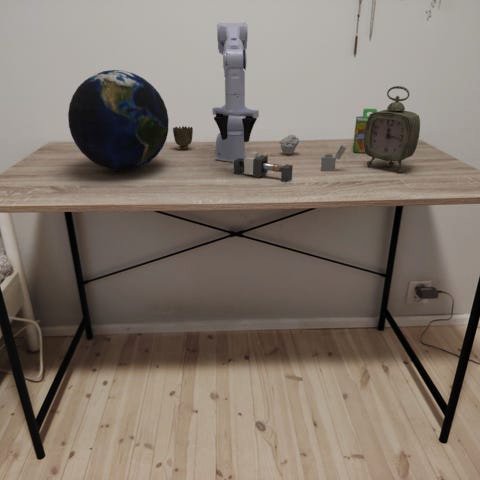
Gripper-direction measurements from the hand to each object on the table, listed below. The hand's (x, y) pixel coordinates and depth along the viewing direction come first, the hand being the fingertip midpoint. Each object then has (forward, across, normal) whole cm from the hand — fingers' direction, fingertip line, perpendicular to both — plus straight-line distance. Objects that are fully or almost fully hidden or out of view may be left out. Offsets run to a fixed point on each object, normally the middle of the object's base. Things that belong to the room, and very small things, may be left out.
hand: (235, 140), depth 134 cm
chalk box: (+10, +30, +46) cm, 56 cm away
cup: (+10, -32, +18) cm, 37 cm away
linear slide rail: (+10, +9, 0) cm, 14 cm away
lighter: (+10, +26, +16) cm, 32 cm away
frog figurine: (+10, +7, +28) cm, 31 cm away
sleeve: (+10, +6, 0) cm, 12 cm away
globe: (+10, -34, -12) cm, 38 cm away
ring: (+10, +9, 0) cm, 13 cm away
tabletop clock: (+10, +42, +26) cm, 50 cm away
